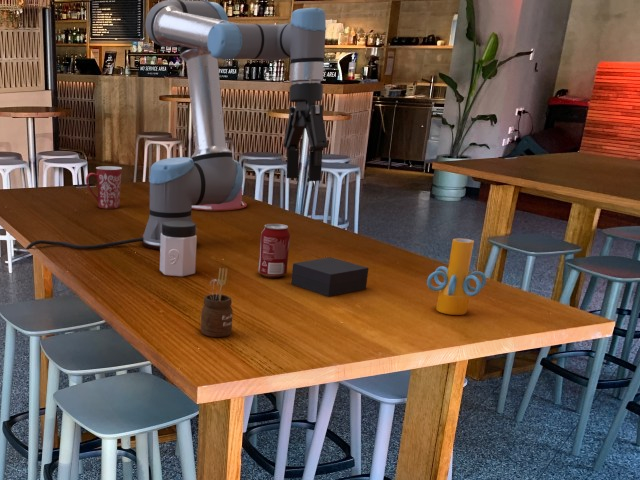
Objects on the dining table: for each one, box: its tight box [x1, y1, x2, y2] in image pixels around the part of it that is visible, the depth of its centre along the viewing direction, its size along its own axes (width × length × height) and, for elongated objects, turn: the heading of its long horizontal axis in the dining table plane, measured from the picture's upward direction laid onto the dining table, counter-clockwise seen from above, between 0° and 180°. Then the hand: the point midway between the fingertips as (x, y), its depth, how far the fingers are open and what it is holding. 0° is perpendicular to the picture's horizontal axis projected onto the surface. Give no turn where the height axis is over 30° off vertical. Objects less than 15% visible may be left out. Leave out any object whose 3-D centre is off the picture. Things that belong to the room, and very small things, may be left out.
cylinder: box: [426, 237, 487, 316], centre depth 163 cm, size 12×10×15 cm
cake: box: [191, 187, 248, 212], centre depth 282 cm, size 25×25×11 cm
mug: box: [85, 165, 123, 210], centre depth 275 cm, size 13×9×14 cm
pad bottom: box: [290, 273, 368, 297], centre depth 183 cm, size 12×12×2 cm
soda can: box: [258, 223, 291, 279], centre depth 190 cm, size 7×7×12 cm
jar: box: [159, 220, 198, 278], centre depth 192 cm, size 9×8×12 cm
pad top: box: [291, 256, 369, 285], centre depth 182 cm, size 12×12×2 cm
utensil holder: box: [200, 267, 234, 338], centre depth 149 cm, size 6×6×12 cm
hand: (303, 179), depth 186 cm, fingers open, 13 cm apart
